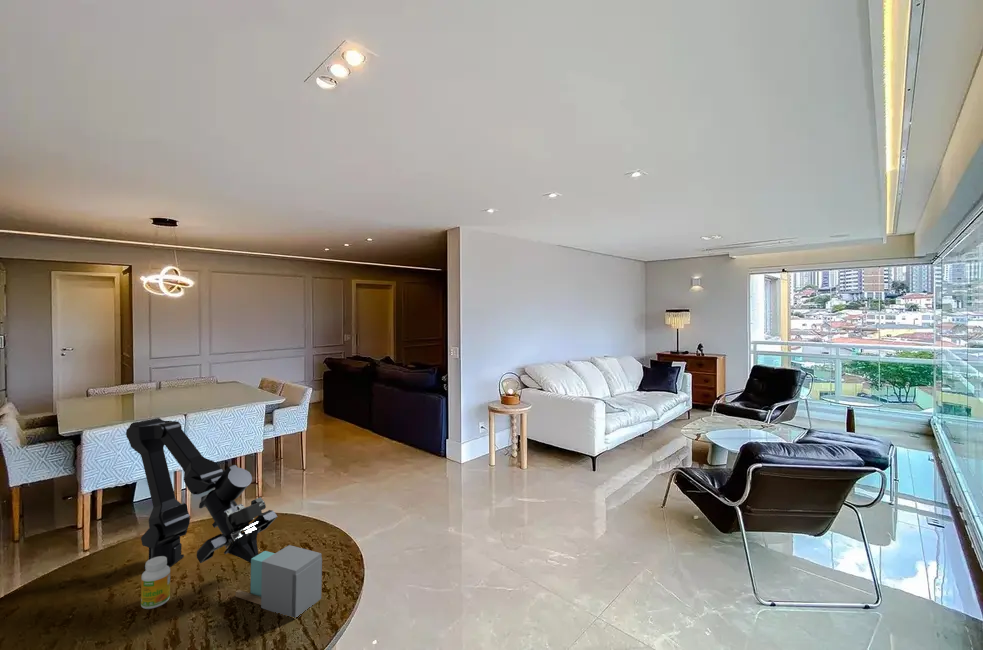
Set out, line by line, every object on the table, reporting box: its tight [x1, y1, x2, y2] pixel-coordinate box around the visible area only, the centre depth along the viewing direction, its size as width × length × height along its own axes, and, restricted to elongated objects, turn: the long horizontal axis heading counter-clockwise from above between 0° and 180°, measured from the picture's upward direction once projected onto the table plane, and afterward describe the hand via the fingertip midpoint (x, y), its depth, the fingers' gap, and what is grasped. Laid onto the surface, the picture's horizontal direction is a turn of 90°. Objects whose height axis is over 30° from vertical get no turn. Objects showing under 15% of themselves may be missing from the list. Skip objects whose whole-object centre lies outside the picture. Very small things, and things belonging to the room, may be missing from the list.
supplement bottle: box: [140, 556, 171, 610], centre depth 102 cm, size 5×5×10 cm
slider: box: [249, 550, 276, 597], centre depth 105 cm, size 8×4×9 cm, turn 70°
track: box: [235, 589, 261, 606], centre depth 106 cm, size 9×6×1 cm
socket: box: [260, 544, 323, 618], centre depth 103 cm, size 10×8×11 cm
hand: (257, 563), depth 107 cm, fingers closed, pressing on slider
